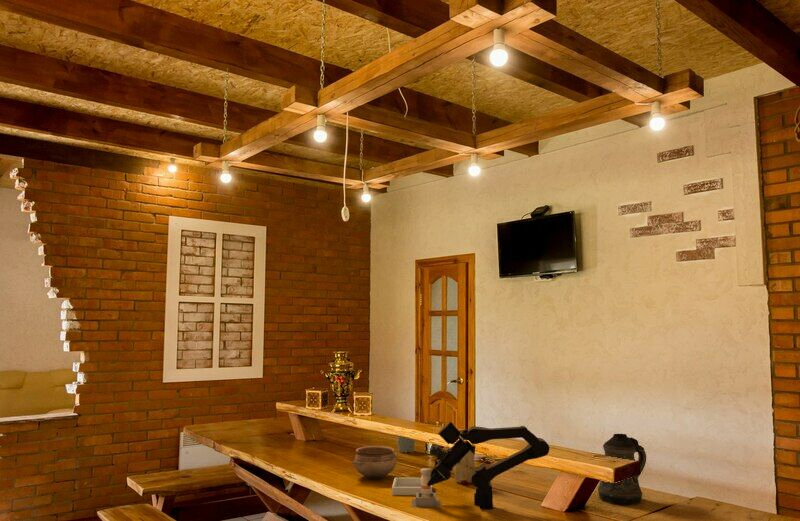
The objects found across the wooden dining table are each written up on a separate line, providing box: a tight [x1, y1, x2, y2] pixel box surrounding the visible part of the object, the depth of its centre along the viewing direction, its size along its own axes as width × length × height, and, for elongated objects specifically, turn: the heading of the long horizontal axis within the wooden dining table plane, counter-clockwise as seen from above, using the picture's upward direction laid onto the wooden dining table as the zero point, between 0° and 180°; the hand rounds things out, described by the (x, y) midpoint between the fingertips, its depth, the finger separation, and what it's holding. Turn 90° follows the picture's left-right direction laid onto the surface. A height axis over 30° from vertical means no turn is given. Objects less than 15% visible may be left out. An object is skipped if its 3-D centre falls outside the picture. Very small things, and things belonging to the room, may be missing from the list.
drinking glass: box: [397, 435, 416, 453], centre depth 337 cm, size 10×10×12 cm
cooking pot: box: [351, 445, 398, 480], centre depth 281 cm, size 25×19×12 cm
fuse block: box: [410, 491, 442, 509], centre depth 238 cm, size 11×10×5 cm
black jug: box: [597, 433, 647, 506], centre depth 247 cm, size 16×19×25 cm
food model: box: [453, 436, 476, 485], centre depth 271 cm, size 10×7×20 cm
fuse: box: [420, 467, 432, 497], centre depth 238 cm, size 4×4×12 cm
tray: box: [391, 477, 433, 496], centre depth 257 cm, size 16×16×4 cm
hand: (427, 482), depth 238 cm, fingers open, 9 cm apart
